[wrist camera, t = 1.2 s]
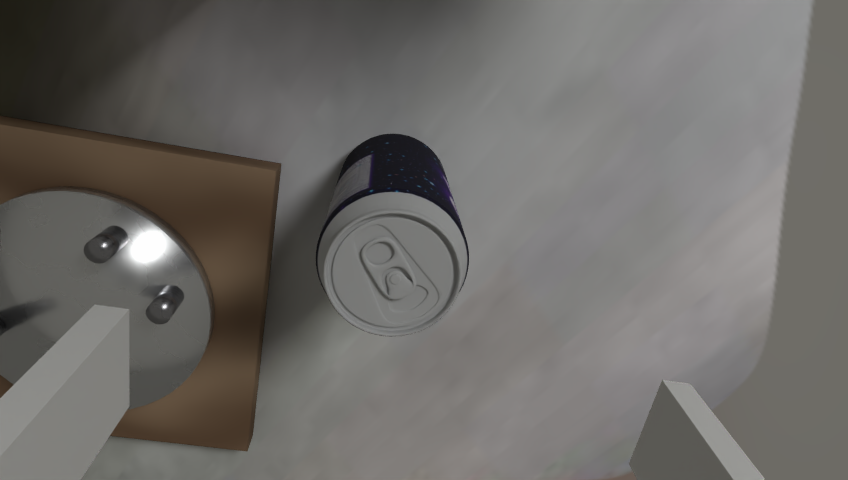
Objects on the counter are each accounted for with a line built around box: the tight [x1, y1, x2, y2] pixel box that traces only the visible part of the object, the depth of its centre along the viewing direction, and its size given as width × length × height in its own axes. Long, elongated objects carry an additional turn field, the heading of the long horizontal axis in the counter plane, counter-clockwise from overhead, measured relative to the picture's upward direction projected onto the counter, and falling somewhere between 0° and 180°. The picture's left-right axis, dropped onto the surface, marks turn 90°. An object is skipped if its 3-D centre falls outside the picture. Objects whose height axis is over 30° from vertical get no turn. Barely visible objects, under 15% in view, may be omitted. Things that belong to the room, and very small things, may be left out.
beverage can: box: [316, 134, 469, 337], centre depth 26 cm, size 6×6×12 cm
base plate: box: [0, 116, 281, 451], centre depth 32 cm, size 18×18×2 cm
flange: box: [0, 186, 215, 409], centre depth 30 cm, size 13×13×3 cm
